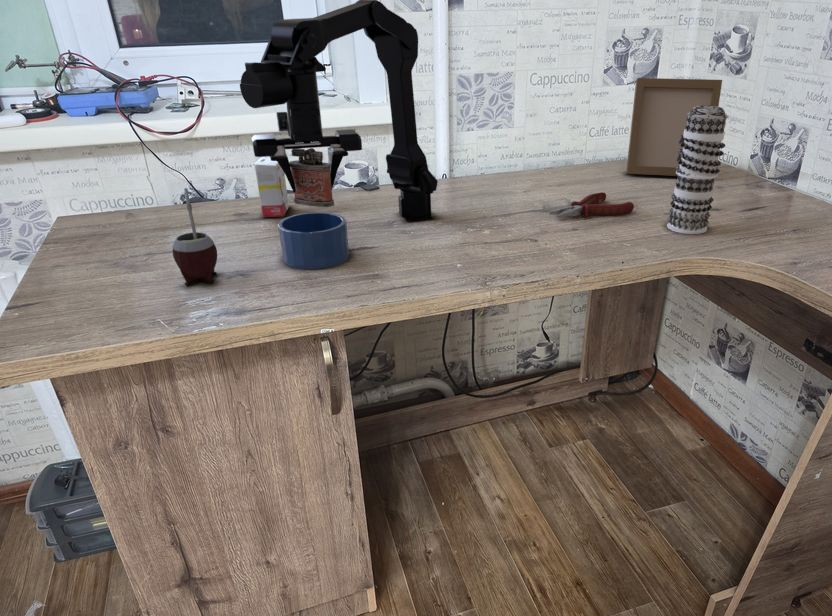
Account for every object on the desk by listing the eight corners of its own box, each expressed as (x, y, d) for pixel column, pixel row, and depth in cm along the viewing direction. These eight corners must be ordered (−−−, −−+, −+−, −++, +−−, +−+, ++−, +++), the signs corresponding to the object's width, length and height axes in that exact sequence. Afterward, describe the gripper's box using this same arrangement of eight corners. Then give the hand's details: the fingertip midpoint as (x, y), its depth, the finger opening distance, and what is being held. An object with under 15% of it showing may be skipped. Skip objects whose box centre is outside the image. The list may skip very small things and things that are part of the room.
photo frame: (707, 180, 172) (726, 82, 160) (626, 177, 175) (638, 80, 163) (699, 167, 185) (716, 75, 172) (624, 164, 188) (635, 74, 175)
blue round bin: (343, 242, 129) (339, 209, 125) (354, 264, 118) (350, 228, 115) (280, 250, 125) (275, 215, 121) (286, 273, 115) (281, 236, 111)
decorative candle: (657, 227, 137) (676, 107, 125) (677, 218, 143) (697, 102, 131) (696, 237, 132) (720, 112, 120) (715, 227, 138) (740, 107, 125)
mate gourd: (197, 291, 108) (177, 205, 100) (168, 281, 111) (147, 198, 104) (232, 276, 113) (216, 194, 106) (204, 267, 117) (186, 187, 109)
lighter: (337, 203, 118) (332, 148, 113) (328, 208, 115) (322, 152, 110) (300, 199, 120) (293, 145, 116) (290, 203, 118) (283, 149, 113)
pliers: (537, 213, 146) (537, 202, 144) (601, 200, 155) (603, 190, 154) (569, 227, 137) (570, 215, 136) (635, 213, 147) (636, 202, 146)
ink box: (283, 217, 143) (276, 164, 137) (261, 217, 142) (253, 165, 137) (290, 206, 150) (283, 155, 144) (269, 206, 150) (261, 156, 144)
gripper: (347, 93, 118) (354, 176, 126) (244, 97, 113) (258, 183, 121) (359, 101, 109) (365, 190, 117) (246, 106, 104) (261, 199, 111)
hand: (312, 190), depth 117 cm, fingers closed on lighter, 6 cm apart
